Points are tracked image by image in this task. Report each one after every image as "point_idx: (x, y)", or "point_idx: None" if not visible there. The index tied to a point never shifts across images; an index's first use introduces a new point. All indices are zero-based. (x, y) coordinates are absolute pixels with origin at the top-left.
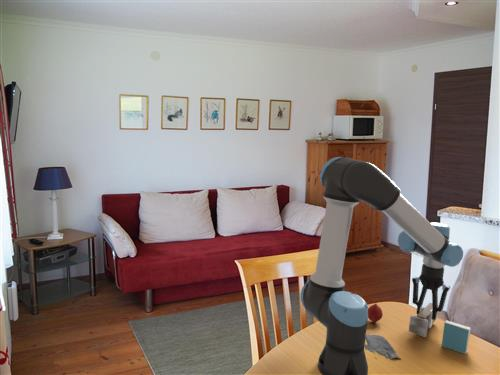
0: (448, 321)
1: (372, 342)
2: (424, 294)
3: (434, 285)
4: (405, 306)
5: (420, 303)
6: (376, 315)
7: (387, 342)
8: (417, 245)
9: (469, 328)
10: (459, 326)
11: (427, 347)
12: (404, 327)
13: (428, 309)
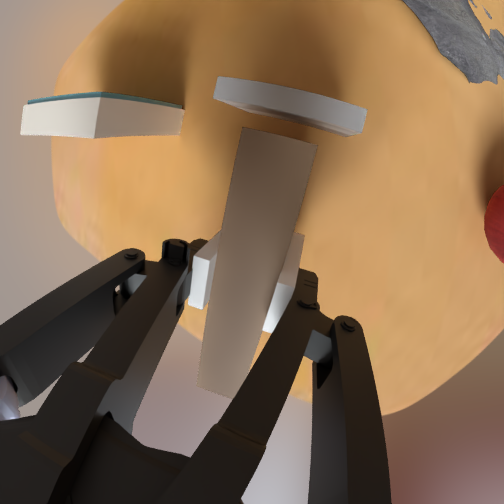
0: (83, 127)
1: (461, 9)
2: (238, 394)
3: (11, 452)
4: None
5: (290, 313)
6: None
7: (416, 8)
8: None
9: (22, 120)
10: (46, 104)
11: (241, 57)
12: (368, 221)
13: (234, 318)
